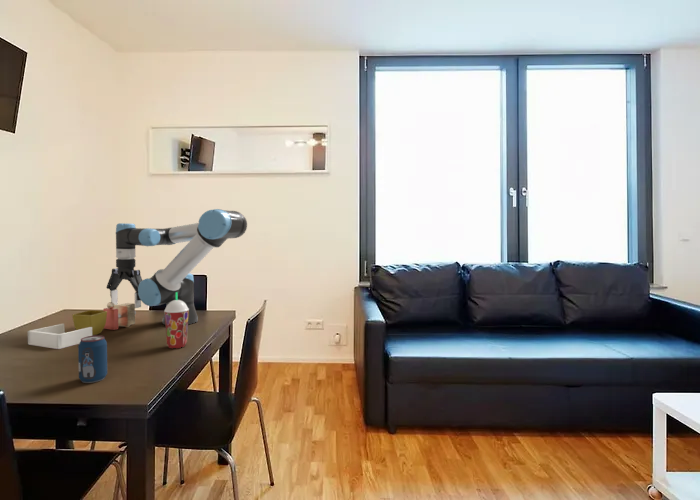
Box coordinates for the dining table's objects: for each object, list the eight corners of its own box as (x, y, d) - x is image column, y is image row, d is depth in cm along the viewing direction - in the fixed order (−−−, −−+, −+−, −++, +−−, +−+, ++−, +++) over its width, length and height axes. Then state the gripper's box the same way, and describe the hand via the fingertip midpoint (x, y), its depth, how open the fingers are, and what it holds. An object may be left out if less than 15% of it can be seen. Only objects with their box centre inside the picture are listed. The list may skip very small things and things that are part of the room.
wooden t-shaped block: (142, 323, 185) (141, 298, 185) (116, 330, 173) (115, 303, 172) (126, 322, 188) (126, 297, 188) (100, 328, 176) (99, 301, 175)
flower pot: (90, 338, 161) (90, 315, 161) (71, 336, 163) (71, 314, 163) (108, 332, 170) (107, 311, 169) (90, 331, 172) (89, 310, 171)
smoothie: (194, 344, 154) (193, 291, 153) (177, 350, 146) (177, 294, 145) (176, 342, 157) (175, 290, 156) (159, 348, 149) (158, 293, 148)
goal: (92, 340, 159) (92, 327, 158) (58, 349, 146) (58, 335, 146) (62, 336, 164) (62, 323, 164) (27, 344, 152) (27, 330, 151)
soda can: (104, 373, 123) (103, 333, 122) (110, 379, 118) (109, 338, 117) (76, 378, 118) (75, 337, 117) (81, 385, 113) (80, 342, 112)
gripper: (97, 257, 182) (97, 305, 183) (140, 260, 174) (140, 310, 175) (112, 256, 189) (112, 302, 190) (154, 259, 181) (154, 307, 182)
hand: (126, 306), depth 183 cm, fingers open, 13 cm apart
